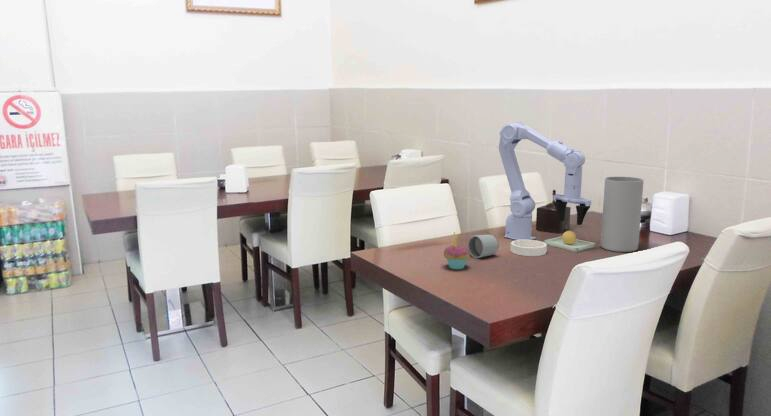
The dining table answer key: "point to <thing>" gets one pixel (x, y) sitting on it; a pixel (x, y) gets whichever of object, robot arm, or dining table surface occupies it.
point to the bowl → (528, 247)
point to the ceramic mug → (482, 245)
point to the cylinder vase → (621, 213)
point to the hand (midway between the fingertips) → (570, 222)
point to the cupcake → (456, 255)
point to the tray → (576, 246)
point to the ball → (569, 237)
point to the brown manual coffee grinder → (552, 218)
